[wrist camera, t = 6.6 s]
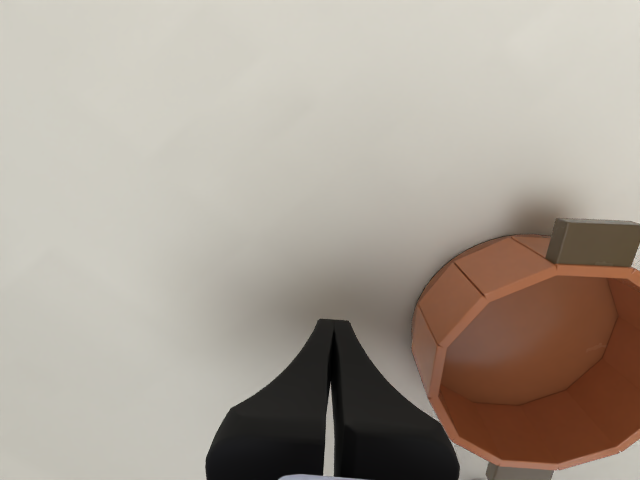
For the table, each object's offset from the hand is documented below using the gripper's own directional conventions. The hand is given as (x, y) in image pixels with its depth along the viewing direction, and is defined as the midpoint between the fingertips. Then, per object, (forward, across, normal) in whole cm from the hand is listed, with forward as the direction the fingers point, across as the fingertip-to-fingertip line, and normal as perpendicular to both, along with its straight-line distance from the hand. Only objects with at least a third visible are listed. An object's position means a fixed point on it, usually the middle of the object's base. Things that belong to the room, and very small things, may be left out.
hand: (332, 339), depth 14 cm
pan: (+2, -8, 0) cm, 9 cm away
